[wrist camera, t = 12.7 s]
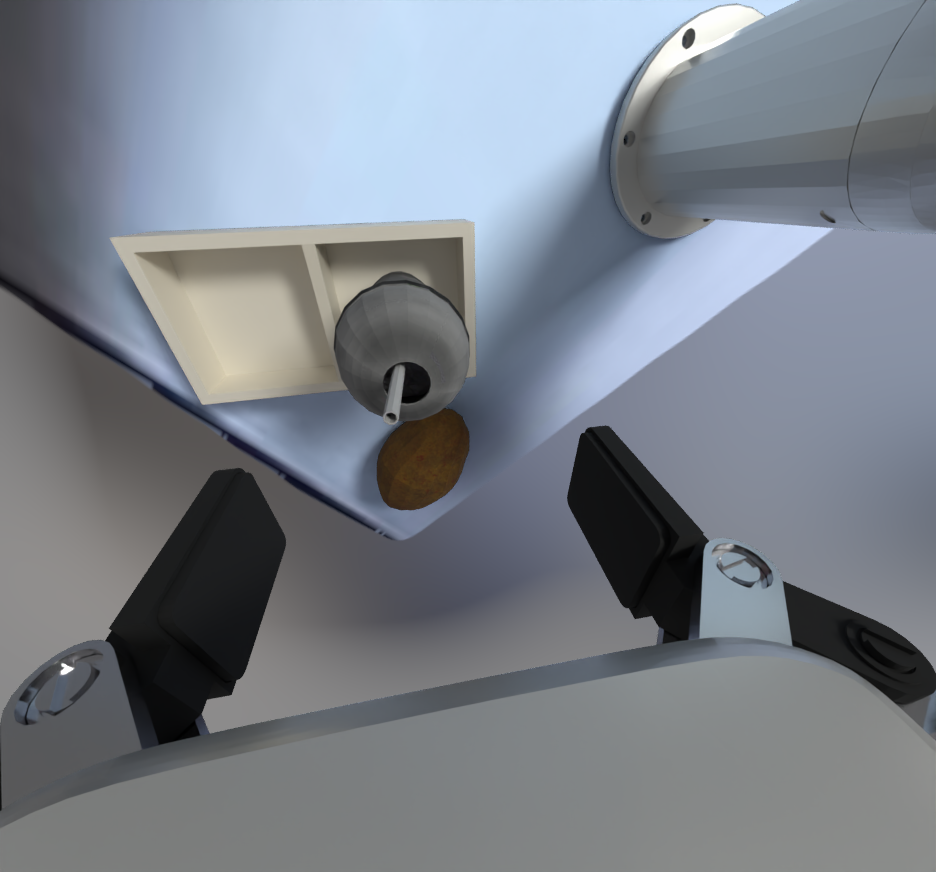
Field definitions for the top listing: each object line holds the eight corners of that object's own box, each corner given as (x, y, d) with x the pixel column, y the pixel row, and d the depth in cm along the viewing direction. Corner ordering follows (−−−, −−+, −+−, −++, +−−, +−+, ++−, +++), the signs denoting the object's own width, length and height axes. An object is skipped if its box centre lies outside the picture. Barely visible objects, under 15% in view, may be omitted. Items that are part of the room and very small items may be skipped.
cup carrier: (464, 219, 26) (474, 222, 23) (467, 358, 32) (476, 376, 29) (149, 231, 23) (109, 237, 20) (223, 382, 29) (202, 404, 26)
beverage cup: (390, 360, 30) (387, 542, 14) (333, 284, 26) (237, 421, 10) (460, 316, 29) (544, 460, 13) (412, 230, 25) (449, 285, 9)
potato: (480, 409, 36) (498, 454, 30) (427, 490, 41) (434, 542, 35) (410, 379, 32) (414, 423, 26) (362, 471, 38) (356, 525, 32)
